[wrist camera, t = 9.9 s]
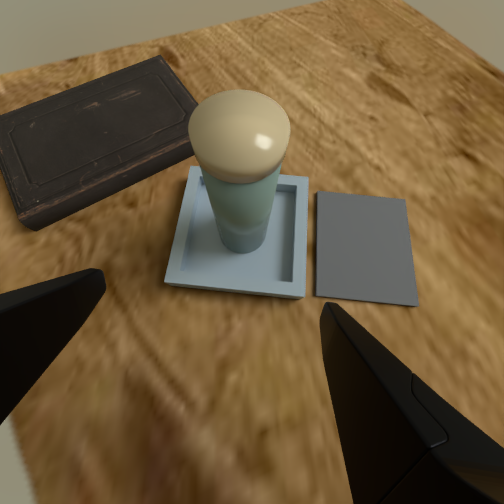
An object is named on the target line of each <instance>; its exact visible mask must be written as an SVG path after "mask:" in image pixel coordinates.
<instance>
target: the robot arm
mask: <svg viewBox="0 0 504 504" xmlns="http://www.w3.org/2000/svg"><path fill="white" fill-rule="evenodd" d="M105 291H106V283H105V278H104V273H103V271H102V270H100V269H94V268H89V269H86V270H82V271H79V272H75V273H72V274H68V275H65V276H61V277H58V278H55V279H51V280H48V281H44V282H41V283H37V284H34V285H30V286H27V287H23V288H20V289H17V290H13V291H10V292H6V293H3V294H0V425H1V424H2V422H3V421H4V420H5V419H6V418H7V416H8V415H9V414H10V413H11V411H12V410H13V409H14V408H15V407H16V405H17V404H18V403H19V402H20V401H21V399H22V398H23V397H24V396H25V395H26V393H27V392H28V391H29V390H30V388H31V387H32V386H33V385H34V384H35V382H36V381H37V380H38V379H39V378H40V376H41V375H42V374H43V373H44V371H45V370H46V369H47V368H48V367H49V365H50V364H51V363H52V362H53V361H54V359H55V358H56V357H57V356H58V354H59V353H60V352H61V351H62V350H63V348H64V347H65V346H66V345H67V344H68V342H69V341H70V340H71V339H72V337H73V336H74V335H75V334H76V333H77V331H78V330H79V329H80V328H81V326H82V325H83V324H84V322H85V321H86V320H87V318H88V317H89V315H90V314H91V312H92V311H93V309H94V308H95V306H96V305H97V303H98V302H99V300H100V299H101V297H102V296H103V294H104V293H105ZM320 333H321V344H322V354H323V362H324V367H325V372H326V376H327V381H328V386H329V391H330V395H331V400H332V405H333V409H334V414H335V419H336V423H337V428H338V433H339V438H340V442H341V447H342V452H343V456H344V461H345V466H346V471H347V475H348V480H349V485H350V489H351V494H352V499H353V504H504V448H503V447H501V446H500V445H499V444H498V443H497V442H495V441H494V440H493V439H492V438H490V437H489V436H488V435H487V434H485V433H484V432H483V431H482V430H480V429H479V428H478V427H477V426H476V425H474V424H473V423H472V422H471V421H469V420H468V419H467V418H466V417H464V416H463V415H462V414H461V413H460V412H458V411H457V410H456V409H455V408H454V407H452V406H451V405H450V404H449V403H448V402H446V401H445V400H444V399H443V398H442V397H440V396H439V395H438V394H437V393H436V392H435V391H434V390H432V389H431V388H430V387H429V386H428V385H427V384H426V383H425V382H423V381H422V380H421V379H420V378H419V377H418V376H417V375H416V374H414V373H412V371H411V370H410V369H409V368H408V367H407V366H406V365H404V364H403V363H402V362H401V361H400V360H399V359H398V358H397V357H396V356H395V355H393V354H392V353H391V352H390V351H389V350H388V349H387V348H386V347H385V346H383V345H382V344H381V343H380V342H379V341H378V340H377V339H376V338H375V337H374V336H372V335H371V334H370V333H369V332H368V331H367V330H366V329H365V328H364V327H362V326H361V325H360V324H359V323H358V322H357V321H356V320H355V319H354V318H352V317H351V316H350V315H349V314H348V313H347V312H346V311H345V310H344V309H343V308H341V307H340V306H339V305H338V304H337V303H333V302H326V303H325V304H324V307H323V310H322V313H321V316H320Z"/></svg>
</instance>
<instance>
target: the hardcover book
mask: <svg viewBox="0 0 504 504" xmlns="http://www.w3.org/2000/svg"><path fill="white" fill-rule="evenodd" d="M198 105H199V104H198V103H197V102H196V101H195V99H194V98H193V97H192V95H191V94H190V93H189V91H188V90H187V89H186V87H185V86H184V85H183V83H182V82H181V81H180V80H179V78H178V77H177V76H176V74H175V73H174V72H173V70H172V69H171V68H170V66H169V65H168V64H167V63H166V61H165V60H164V59H163V57H162V56H161V55H158V56H156V57H153V58H150V59H148V60H145V61H142V62H140V63H137V64H134V65H132V66H129V67H127V68H124V69H121V70H119V71H116V72H113V73H111V74H108V75H105V76H103V77H100V78H98V79H95V80H92V81H90V82H87V83H84V84H82V85H79V86H76V87H74V88H71V89H68V90H66V91H63V92H61V93H58V94H55V95H53V96H50V97H47V98H45V99H42V100H39V101H37V102H34V103H32V104H29V105H26V106H24V107H21V108H18V109H16V110H13V111H10V112H8V113H5V114H3V115H0V169H1V172H2V174H3V177H4V180H5V183H6V185H7V188H8V191H9V194H10V196H11V199H12V202H13V205H14V208H15V210H16V213H17V216H18V219H19V221H20V222H21V223H22V224H23V225H24V226H25V227H27V228H29V229H31V230H34V231H38V230H40V229H42V228H44V227H46V226H49V225H51V224H53V223H55V222H57V221H59V220H61V219H63V218H65V217H67V216H69V215H71V214H73V213H75V212H77V211H79V210H82V209H84V208H86V207H88V206H90V205H92V204H94V203H96V202H98V201H100V200H102V199H104V198H106V197H108V196H110V195H113V194H115V193H117V192H119V191H121V190H123V189H125V188H127V187H129V186H131V185H133V184H135V183H137V182H139V181H141V180H143V179H146V178H148V177H150V176H152V175H154V174H156V173H158V172H160V171H162V170H164V169H166V168H168V167H170V166H172V165H174V164H177V163H179V162H181V161H183V160H185V159H187V158H189V157H191V156H193V155H195V154H194V151H193V147H192V144H191V140H190V137H189V131H188V126H189V120H190V117H191V115H192V113H193V111H194V110H195V108H196V107H197V106H198Z"/></svg>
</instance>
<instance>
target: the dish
mask: <svg viewBox="0 0 504 504" xmlns="http://www.w3.org/2000/svg"><path fill="white" fill-rule="evenodd" d="M307 211H308V177H301V176H290V175H280V174H279V178H278V182H277V187H276V192H275V196H274V201H273V205H272V210H271V215H270V219H269V224H268V228H267V233H266V237H265V240H264V242H263V244H262V245H261V246H260V247H259V248H258V249H256V250H255V251H253V252H250V253H244V254H241V253H236V252H233V251H231V250H229V249H228V248H226V247H225V246H224V244H223V243H222V241H221V239H220V236H219V232H218V229H217V225H216V222H215V218H214V215H213V211H212V207H211V204H210V200H209V197H208V193H207V190H206V186H205V183H204V179H203V176H202V172H201V169H200V167H197V166H191V167H190V171H189V175H188V180H187V184H186V189H185V193H184V197H183V202H182V206H181V210H180V215H179V219H178V223H177V228H176V232H175V237H174V241H173V245H172V250H171V254H170V258H169V263H168V267H167V271H166V276H165V280H164V282H165V283H167V284H169V285H171V286H178V287H188V288H197V289H206V290H216V291H225V292H235V293H244V294H254V295H263V296H272V297H282V298H291V299H302V298H304V297H305V283H306V247H307Z"/></svg>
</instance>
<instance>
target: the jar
mask: <svg viewBox="0 0 504 504" xmlns="http://www.w3.org/2000/svg"><path fill="white" fill-rule="evenodd" d="M188 131H189V137H190V140H191V144H192V147H193V151H194V154H195V157H196V159H197V161H198V163H199V165H200V169H201V172H202V176H203V179H204V183H205V186H206V190H207V193H208V197H209V200H210V204H211V207H212V211H213V215H214V218H215V222H216V225H217V229H218V232H219V236H220V239H221V241H222V243H223V244H224V246H225V247H226V248H228V249H229V250H231V251H233V252H236V253H241V254H244V253H250V252H253V251H255V250H256V249H258V248H259V247H260V246H261V245H262V244H263V242H264V240H265V237H266V233H267V228H268V224H269V219H270V215H271V210H272V205H273V201H274V196H275V192H276V187H277V182H278V178H279V173H280V169H281V164H282V162H283V159H284V157H285V154H286V150H287V145H288V141H289V136H290V123H289V119H288V117H287V114H286V113H285V111H284V110H283V109H282V107H281V106H280V105H279V104H278V103H277V102H275V101H274V100H273V99H271V98H269V97H268V96H265V95H263V94H261V93H258V92H254V91H249V90H229V91H224V92H220V93H217V94H214V95H212V96H210V97H208V98H207V99H205V100H204V101H203V102H201V103H200V104H199V105H198V106H197V107H196V108H195V110H194V111H193V113H192V115H191V117H190V120H189V126H188Z"/></svg>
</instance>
